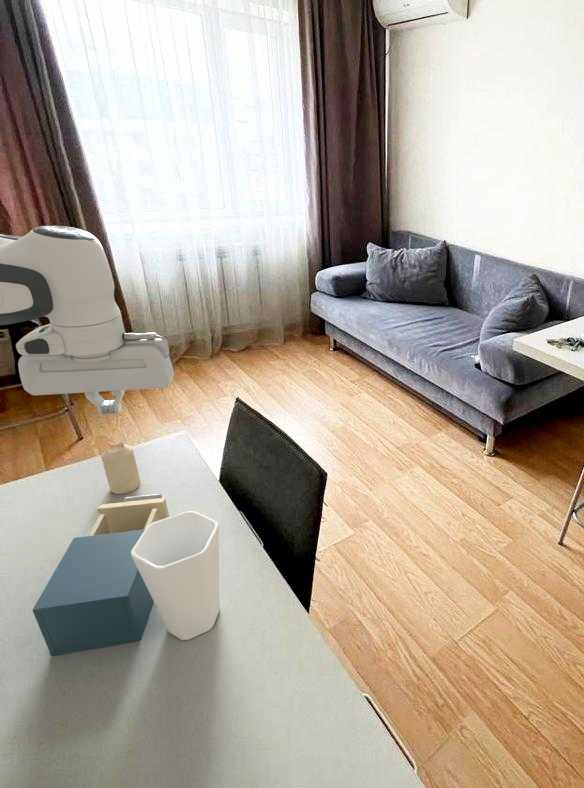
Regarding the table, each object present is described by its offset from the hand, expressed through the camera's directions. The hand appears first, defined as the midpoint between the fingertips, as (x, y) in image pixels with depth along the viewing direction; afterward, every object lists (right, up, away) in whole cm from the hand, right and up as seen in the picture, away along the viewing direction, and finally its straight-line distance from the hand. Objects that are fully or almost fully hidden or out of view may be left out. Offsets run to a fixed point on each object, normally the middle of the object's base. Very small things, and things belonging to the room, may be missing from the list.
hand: (111, 412), depth 81 cm
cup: (+16, -33, -3) cm, 36 cm away
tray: (-1, -26, +7) cm, 27 cm away
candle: (-13, -18, +24) cm, 33 cm away
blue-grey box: (+2, -31, -3) cm, 31 cm away
